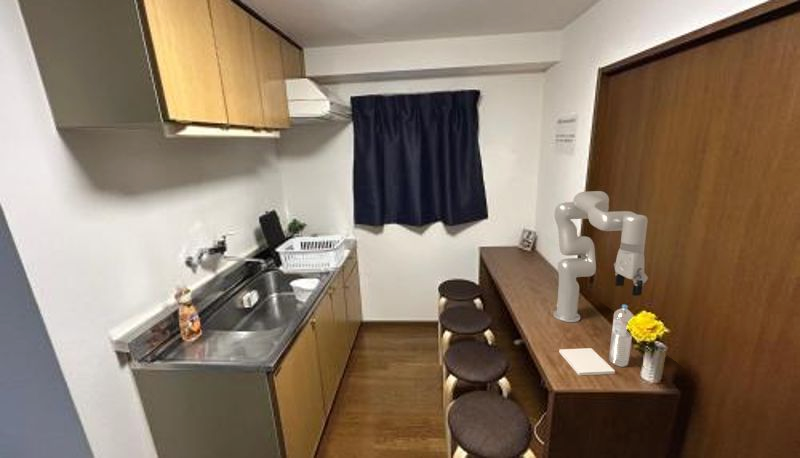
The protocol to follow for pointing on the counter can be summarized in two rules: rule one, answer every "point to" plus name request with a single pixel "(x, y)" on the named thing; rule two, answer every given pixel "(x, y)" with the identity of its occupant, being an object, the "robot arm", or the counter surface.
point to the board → (586, 361)
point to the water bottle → (620, 338)
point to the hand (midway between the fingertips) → (627, 290)
